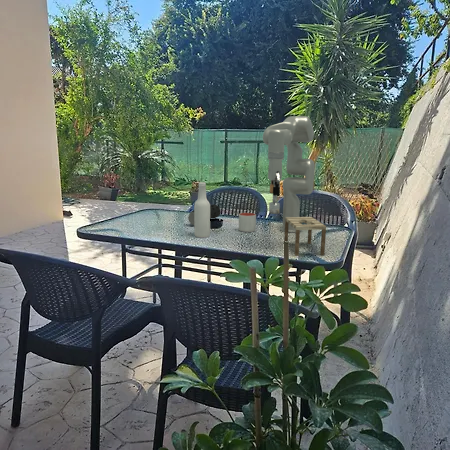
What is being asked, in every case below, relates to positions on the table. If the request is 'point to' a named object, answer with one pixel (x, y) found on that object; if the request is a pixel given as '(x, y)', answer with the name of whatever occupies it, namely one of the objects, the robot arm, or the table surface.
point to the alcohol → (202, 213)
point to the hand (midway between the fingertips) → (274, 193)
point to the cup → (247, 222)
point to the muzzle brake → (214, 213)
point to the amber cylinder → (274, 203)
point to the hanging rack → (311, 225)
